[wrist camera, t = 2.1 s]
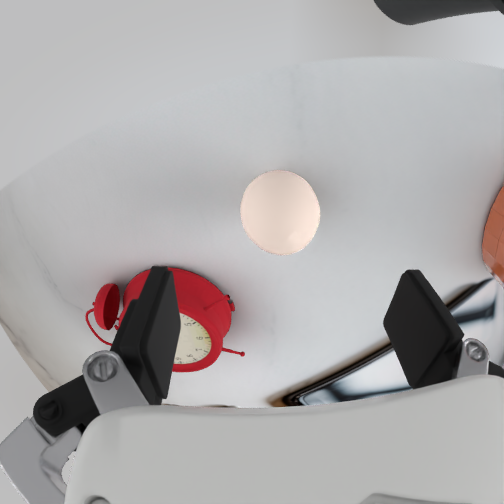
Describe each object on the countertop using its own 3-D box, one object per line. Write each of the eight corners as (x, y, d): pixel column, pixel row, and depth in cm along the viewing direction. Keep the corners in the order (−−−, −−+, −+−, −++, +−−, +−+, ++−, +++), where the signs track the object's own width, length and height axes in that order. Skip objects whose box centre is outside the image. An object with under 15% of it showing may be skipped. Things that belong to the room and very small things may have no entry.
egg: (244, 156, 19) (242, 189, 13) (314, 164, 19) (342, 200, 13) (238, 220, 21) (235, 274, 16) (302, 225, 21) (321, 280, 16)
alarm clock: (252, 369, 25) (109, 397, 23) (238, 324, 30) (114, 352, 29) (229, 284, 20) (51, 327, 18) (217, 242, 25) (70, 282, 23)
